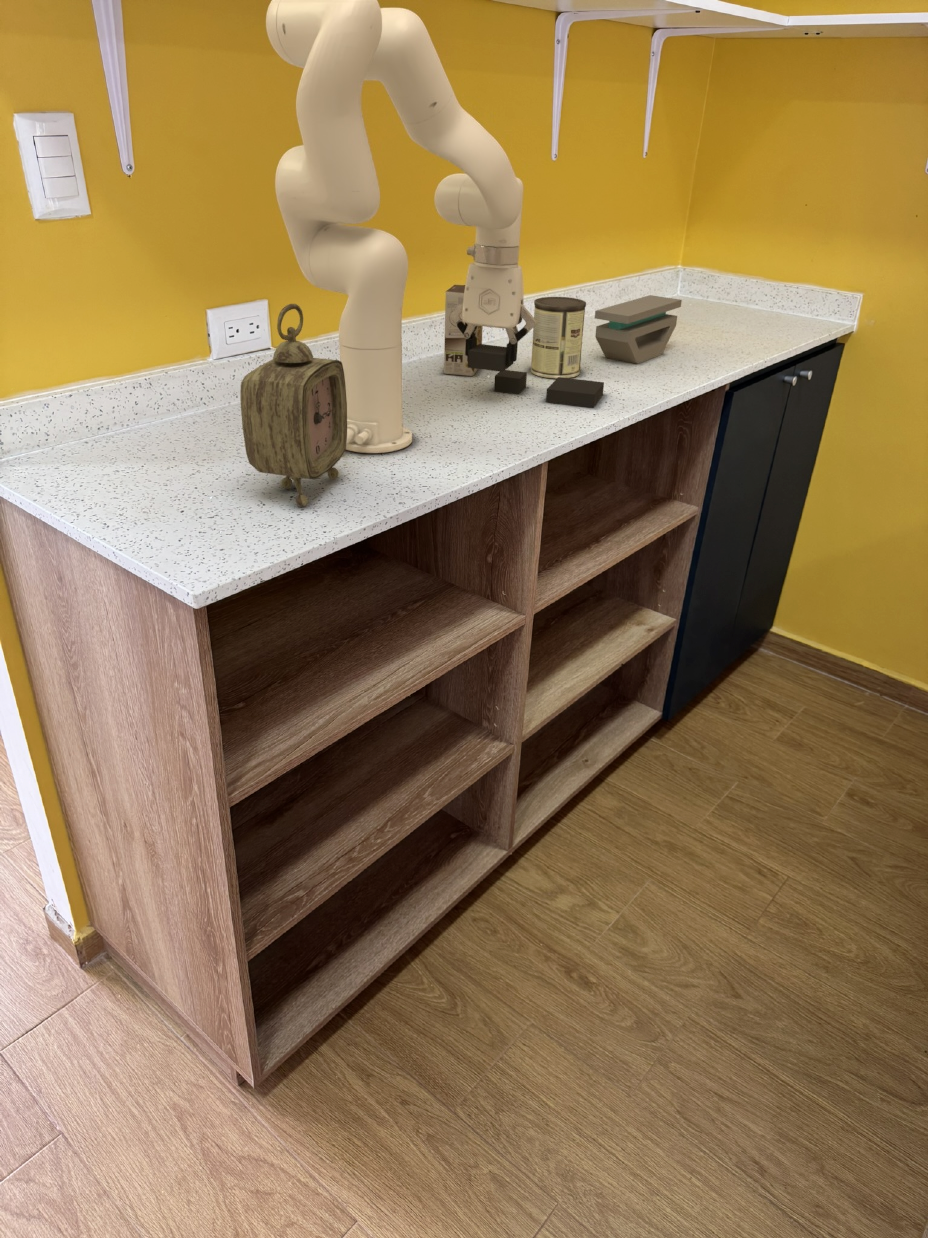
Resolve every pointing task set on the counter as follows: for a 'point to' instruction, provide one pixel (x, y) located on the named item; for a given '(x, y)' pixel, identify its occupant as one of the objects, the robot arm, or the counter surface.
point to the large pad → (575, 392)
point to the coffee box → (456, 336)
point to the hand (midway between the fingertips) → (490, 361)
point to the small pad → (510, 381)
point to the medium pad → (487, 357)
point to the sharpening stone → (636, 328)
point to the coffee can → (557, 337)
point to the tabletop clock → (295, 412)
